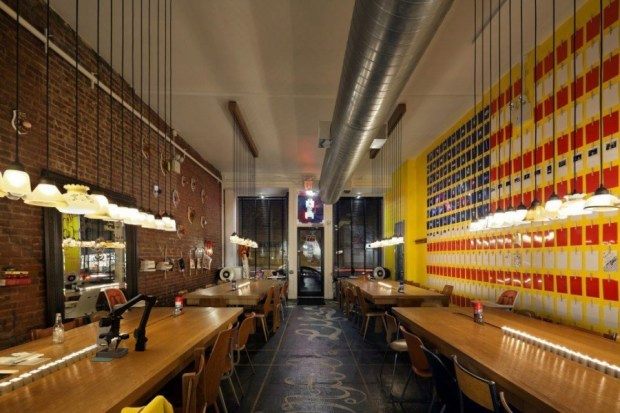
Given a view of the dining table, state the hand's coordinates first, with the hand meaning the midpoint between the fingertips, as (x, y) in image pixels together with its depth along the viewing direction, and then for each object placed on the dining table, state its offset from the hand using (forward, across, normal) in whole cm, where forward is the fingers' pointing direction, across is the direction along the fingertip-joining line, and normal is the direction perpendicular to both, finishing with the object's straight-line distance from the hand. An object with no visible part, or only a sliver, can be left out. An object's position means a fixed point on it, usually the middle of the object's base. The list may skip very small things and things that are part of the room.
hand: (112, 349), depth 268 cm
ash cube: (0, 0, 0) cm, 0 cm away
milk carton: (+4, -18, +26) cm, 32 cm away
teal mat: (+4, -1, -13) cm, 14 cm away
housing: (+4, 0, 0) cm, 4 cm away
